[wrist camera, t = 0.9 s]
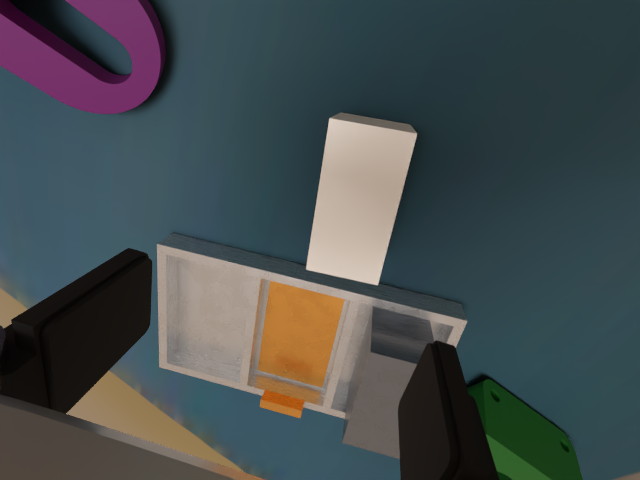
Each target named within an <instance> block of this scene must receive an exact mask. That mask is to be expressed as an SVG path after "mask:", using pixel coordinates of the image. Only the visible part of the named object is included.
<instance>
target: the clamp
mask: <svg viewBox="0 0 640 480" xmlns="http://www.w3.org/2000/svg"><path fill="white" fill-rule="evenodd" d="M467 390H468V394H469V395H471V396H473V397H474V399H475V401H476V403H477V407H478V410H479V413H480V417H481V420H482V423H483V427H484V430H485V433H486V437H487V440H488V443H489V447H490V450H491V453H492V457H493V460H494V463H495V467H496V470H497V473H498V476H499V480H583V479H582V475H581V472H580V468H579V464H578V460H577V457H576V453H575V450H574V448H573V445H572V444H571V442H570V440H569V439H568V437H567V436H566V435H565V434H564V433H563V432H562V431H561V430H560V429H558V428H557V427H555V426H554V425H553V424H551V423H550V422H549V421H547V420H546V419H544V418H543V417H542V416H540V415H539V414H538V413H536V412H535V411H533V410H532V409H531V408H529V407H528V406H527V405H525V404H524V403H522V402H521V401H520V400H518V399H517V398H516V397H514V396H513V395H511V394H510V393H509V392H507V391H506V390H504V389H503V388H502V387H500V386H499V385H498V384H496V383H495V382H493V381H492V380H489V379H487V380H484V381H482V382H479V383H477V384H475V385H472V386H470V387H468V388H467Z"/></svg>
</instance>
